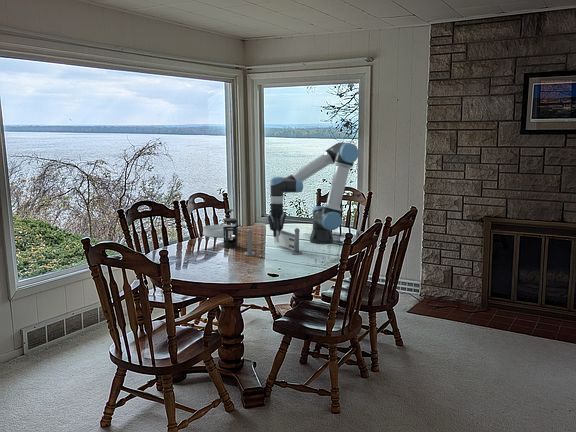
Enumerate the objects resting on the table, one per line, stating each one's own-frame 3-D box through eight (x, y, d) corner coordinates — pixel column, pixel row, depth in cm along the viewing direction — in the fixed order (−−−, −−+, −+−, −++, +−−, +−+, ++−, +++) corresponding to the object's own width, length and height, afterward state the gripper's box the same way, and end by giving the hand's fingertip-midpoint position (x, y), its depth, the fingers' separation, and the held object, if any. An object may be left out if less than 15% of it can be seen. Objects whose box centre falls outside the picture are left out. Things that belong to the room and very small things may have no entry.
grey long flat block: (296, 250, 313) (296, 235, 311) (292, 250, 311) (292, 235, 310) (276, 242, 332) (276, 228, 331) (272, 243, 331) (272, 229, 329)
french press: (233, 249, 321) (232, 211, 318) (219, 247, 325) (219, 210, 321) (242, 245, 332) (242, 208, 328) (229, 243, 336) (228, 207, 332)
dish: (241, 233, 371) (241, 226, 370) (222, 239, 352) (222, 231, 351) (216, 230, 382) (216, 223, 381) (196, 235, 363) (196, 228, 362)
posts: (301, 252, 314) (301, 227, 312) (302, 254, 308) (302, 229, 306) (244, 253, 311) (244, 227, 308) (244, 255, 305) (244, 229, 302)
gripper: (282, 201, 325) (282, 239, 329) (264, 202, 318) (264, 241, 322) (289, 202, 319) (288, 241, 323) (270, 204, 312) (270, 243, 316)
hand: (276, 241), depth 322 cm, fingers closed
